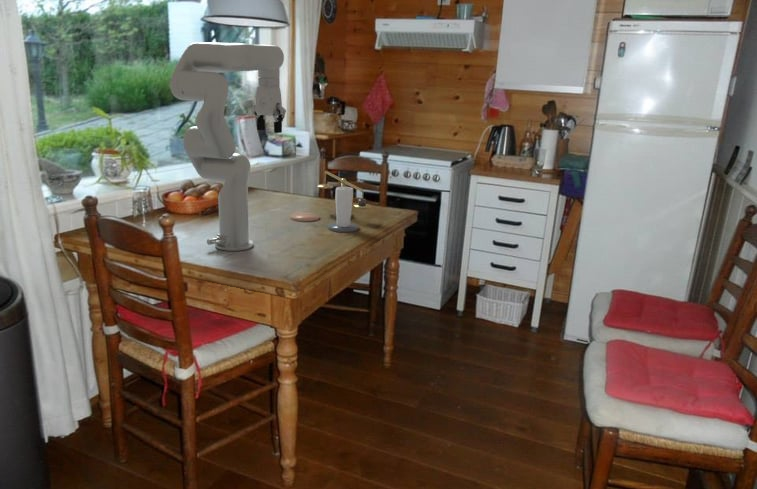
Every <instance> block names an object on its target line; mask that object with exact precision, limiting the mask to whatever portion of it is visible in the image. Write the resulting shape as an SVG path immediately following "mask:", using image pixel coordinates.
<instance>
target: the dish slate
mask: <svg viewBox="0 0 757 489" xmlns="http://www.w3.org/2000/svg"><path fill="white" fill-rule="evenodd" d="M336 222H337V221H334V222H330V223H328V224H327V229H328V230H330V231H332V232H335V233H354V232H357V231H358V230H359V225H358V224H356V223H354V222H350V226H349V227H338V226H337V224H336Z"/></svg>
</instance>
